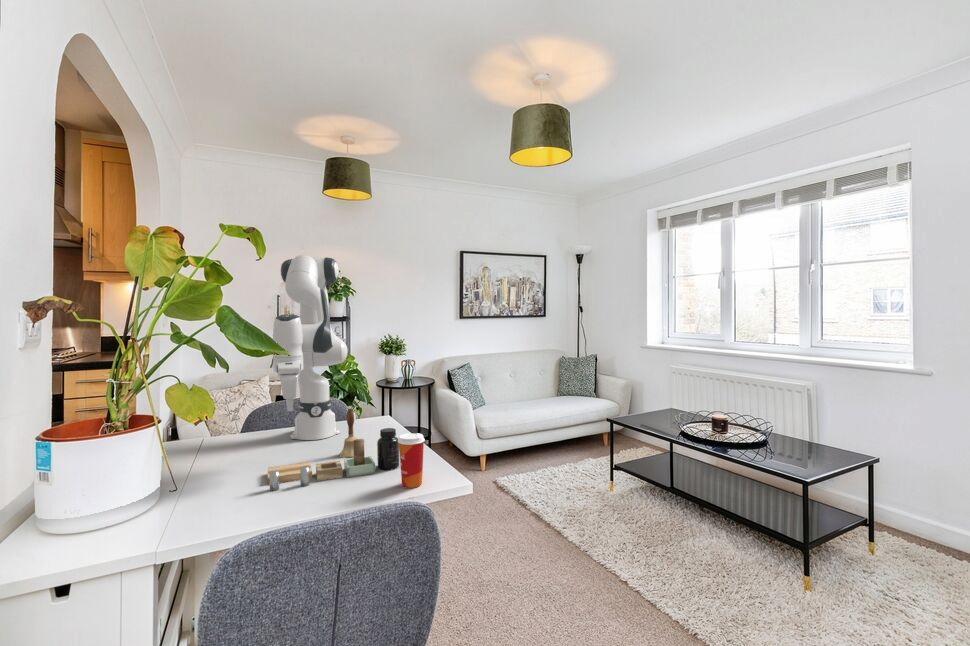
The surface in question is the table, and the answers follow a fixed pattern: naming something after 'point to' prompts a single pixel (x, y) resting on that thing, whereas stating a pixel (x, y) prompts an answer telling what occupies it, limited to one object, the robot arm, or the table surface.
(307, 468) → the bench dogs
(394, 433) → the supplement bottle
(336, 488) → the table surface
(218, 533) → the table surface
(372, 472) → the tray
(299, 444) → the table surface
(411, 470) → the paper cup
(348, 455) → the hand bell
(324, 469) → the socket block
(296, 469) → the curved tan panel
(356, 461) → the dowel
